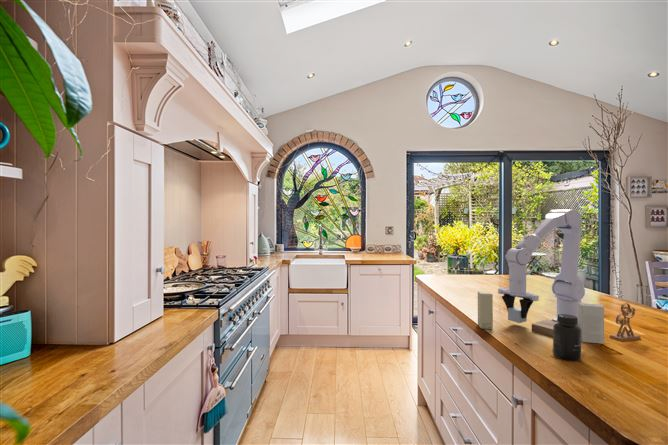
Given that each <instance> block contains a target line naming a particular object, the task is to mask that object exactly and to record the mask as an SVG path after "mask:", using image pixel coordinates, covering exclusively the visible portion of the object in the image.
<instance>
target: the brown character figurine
mask: <svg viewBox="0 0 668 445" xmlns="http://www.w3.org/2000/svg"><path fill="white" fill-rule="evenodd" d="M625 305H627V306H625ZM620 311H621V313H619V314H617V316H616V317H615V324H617V325H620V326H619V329H618V331H617V333H613V334H609V338H610V339H611V340H612V339H613V340H615V341H619V342H629V341H638V340H641V335H638V334H635V333H634V331H633V329H632V327H631V325H630V319H633V317H634V316H635V315H636V309H635V307H631V305H630V303H628V302H623V303H622V304H621V306H620ZM630 314H631V315H630ZM629 315H630V316H629ZM621 316H622V317H623V318H620V317H621ZM627 327H628V328H627ZM628 329H629V330H628Z"/></svg>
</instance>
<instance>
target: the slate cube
mask: <svg viewBox="0 0 668 445" xmlns="http://www.w3.org/2000/svg"><path fill="white" fill-rule="evenodd" d="M527 317H528V316H527ZM527 317H526V318H524V319H523V318H522V317H521V307H519V306H514V307H511V308H508V311H507V321H511V322H514V323H517V324H521V323H526V322H527V321H528V319H527Z"/></svg>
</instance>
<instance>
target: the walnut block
mask: <svg viewBox="0 0 668 445" xmlns="http://www.w3.org/2000/svg"><path fill="white" fill-rule="evenodd" d="M556 323H558V322H557V321H553V320H552V319H551V320H550V319H544V320H541V321H536V322H532V323H531V332H535V333H538V334H541V335H544V336H548V337H552V338H553V327H554V325H555V324H556Z"/></svg>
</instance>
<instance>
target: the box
mask: <svg viewBox="0 0 668 445" xmlns="http://www.w3.org/2000/svg"><path fill="white" fill-rule="evenodd" d="M493 296H494V295H493V293H492V292H490V291H483V290H482V291H480V290H479V291H477V325H478V327H479V328H480V329H484V330H486V329H487V330H493V329H494V322H493V321H494V320H493V319H494V316H493V314H494V313H493V312H494V310H493V308H494V306H493V302H494V300H493V299H494V298H493Z"/></svg>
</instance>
